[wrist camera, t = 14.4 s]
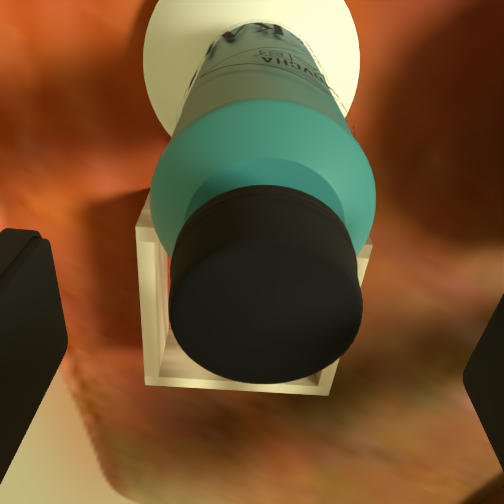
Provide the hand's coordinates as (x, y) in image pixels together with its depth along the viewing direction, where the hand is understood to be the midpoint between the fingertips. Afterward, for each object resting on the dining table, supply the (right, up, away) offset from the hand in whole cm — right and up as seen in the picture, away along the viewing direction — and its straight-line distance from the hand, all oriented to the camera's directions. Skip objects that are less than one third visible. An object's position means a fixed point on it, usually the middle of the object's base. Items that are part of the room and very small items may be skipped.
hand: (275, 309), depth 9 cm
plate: (-1, +12, +16) cm, 20 cm away
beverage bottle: (0, +11, +16) cm, 19 cm away
